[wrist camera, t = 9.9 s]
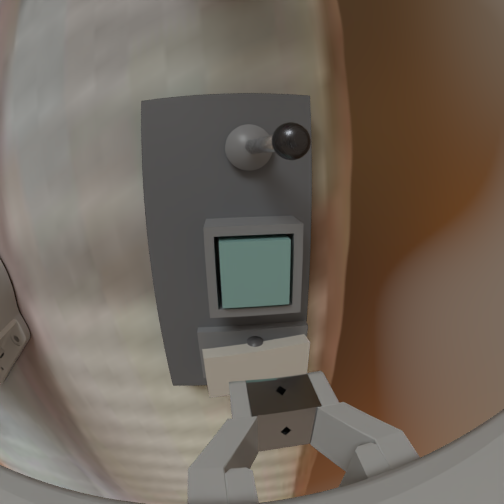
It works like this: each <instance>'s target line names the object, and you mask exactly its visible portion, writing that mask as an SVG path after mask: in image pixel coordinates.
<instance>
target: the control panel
mask: <svg viewBox="0 0 504 504" xmlns="http://www.w3.org/2000/svg"><path fill="white" fill-rule="evenodd" d="M288 122H293V123H298V124H300V125H302V126H303V127H304V128H305V129H306V130H307V131H308V133H309V135H310V139H311V112H310V96H307V95H291V94H262V93H237V94H208V95H192V96H180V97H170V98H161V99H152V100H145V101H141V142H142V171H143V189H144V203H145V215H146V226H147V236H148V246H149V254H150V262H151V270H152V277H153V284H154V291H155V297H156V303H157V309H158V315H159V321H160V326H161V332H162V337H163V342H164V347H165V352H166V357H167V361H168V366H169V370H170V375H171V379H172V383H173V385H207V380H206V373H205V366H204V359H203V351H202V349H209V348H217V347H225V346H233V345H240V344H247V339H248V338H249V337H251V336H259V337H261V338H262V339H263V341H267V340H273V339H279V338H285V337H291V336H296V335H302V334H305V336H306V337H307V330H308V325H307V323H306V321H307V306H308V289H309V269H310V244H311V198H312V157H311V145H310V148H309V150H308V152H307V153H306V155H304V156H303V157H302V158H300V159H297V160H286V159H283V158H281V157H280V156H279V155H277V154H276V152H269V153H258V154H250V153H248V152H247V151H246V149H245V144H246V142H247V141H248V140H250V139H254V138H259V137H264V136H269V135H273V133H274V131H275V130H276V128H277V127H278V126H280V125H282V124H284V123H288ZM265 234H286V235H287V236H288V237H289V238H290V239H291V255H290V295H289V304H285V305H271V306H256V307H239V308H223V306H222V291H221V275H220V258H219V236H241V235H265Z"/></svg>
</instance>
